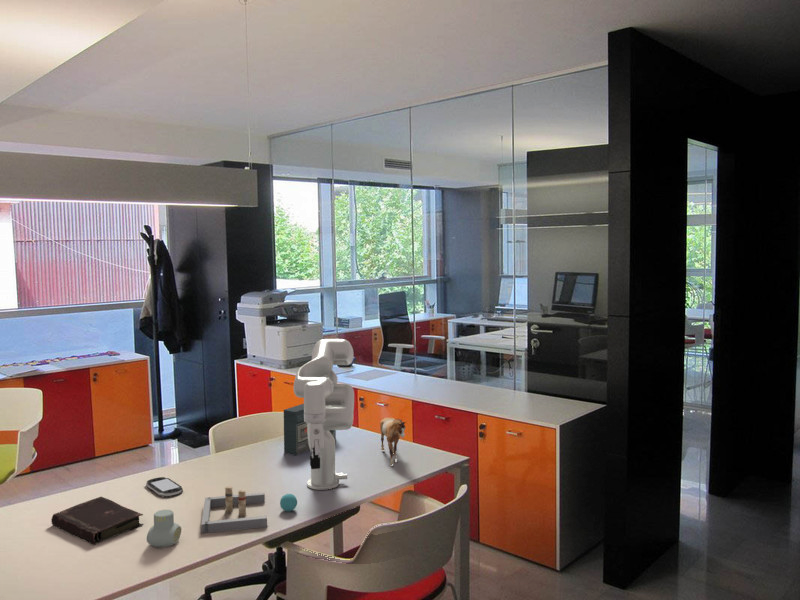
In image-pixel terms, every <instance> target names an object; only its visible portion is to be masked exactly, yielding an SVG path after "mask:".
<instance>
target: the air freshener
mask: <svg viewBox="0 0 800 600" xmlns="http://www.w3.org/2000/svg"><path fill="white" fill-rule="evenodd" d="M174 514H175V513H174V511H173V510H171V509H161V510H158V511H156V512H155V513H154V514H153V525H152V526H151V527H150V528H149V530H148V532H147V535H146V543H148V545H150V546H152V547H154V548H168V547H171V546H173V545H174V544H176V543H177V542H178V541H179V540H180V537H181V535H182V527H181V525H179V524H178V523H176V522H175V519H174V518H175V516H174Z"/></svg>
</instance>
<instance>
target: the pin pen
mask: <svg viewBox="0 0 800 600" xmlns="http://www.w3.org/2000/svg"><path fill="white" fill-rule="evenodd" d="M232 497H233V506H239V500H238V494H233V495H232ZM265 498H266V496H265V492H255V493H254V492H253V493H246V505H250V504H261V503H263V504H264V503H266V500H265ZM217 507H218V508H219V507H226V499H225V495H220V496H210V497H209V496H208V497H207V496H206V497H204V503H203V509H202V510H203V511H202V516H201V525H200V526H201V534H210V533H217V532H219V533H220V532H229V531H236V530H237V531H239V530H240V531H241V530H248V529H260V528H267V527H268V516H267V515H262V516H261V515H260V516H250V517H249V516H248V517H240V518H231V519H230V518H229V519H219V520H210V517H211V508H217Z"/></svg>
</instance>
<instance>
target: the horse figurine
mask: <svg viewBox="0 0 800 600" xmlns="http://www.w3.org/2000/svg"><path fill="white" fill-rule="evenodd" d="M406 423H407V422H406V421H405V422H404V421H403V419H400V418H396V419H395V418H394V417H389V416H388V417H385V418H383V419H381V421H380V423H379V424H380V425H379V427H380V430H379V431H380V441H381V446H380V447H381V450H385V448H384V446H385V444H384V440H385V438H384V437H386V441H387V445H388V450H389V455H390V463H389V464H391V465H392V464H394V459H397V460H398V458H397V453H396V452H397V448H398V447H397V445H398V442H399V439H400V438H402V439H403V438H404V437H405V436H406V435H405V429H406V425H405V424H406ZM393 453H394V454H393ZM393 457H394V458H393Z"/></svg>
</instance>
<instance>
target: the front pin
mask: <svg viewBox="0 0 800 600" xmlns="http://www.w3.org/2000/svg"><path fill="white" fill-rule="evenodd" d="M237 493H238V494H237V495H238V500H239V505H238V516H239V517H240V518H244V517H245V516H247V507H246V506H247V504H246V494H247V492H246V490H245V489H239V490H238V492H237Z"/></svg>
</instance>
